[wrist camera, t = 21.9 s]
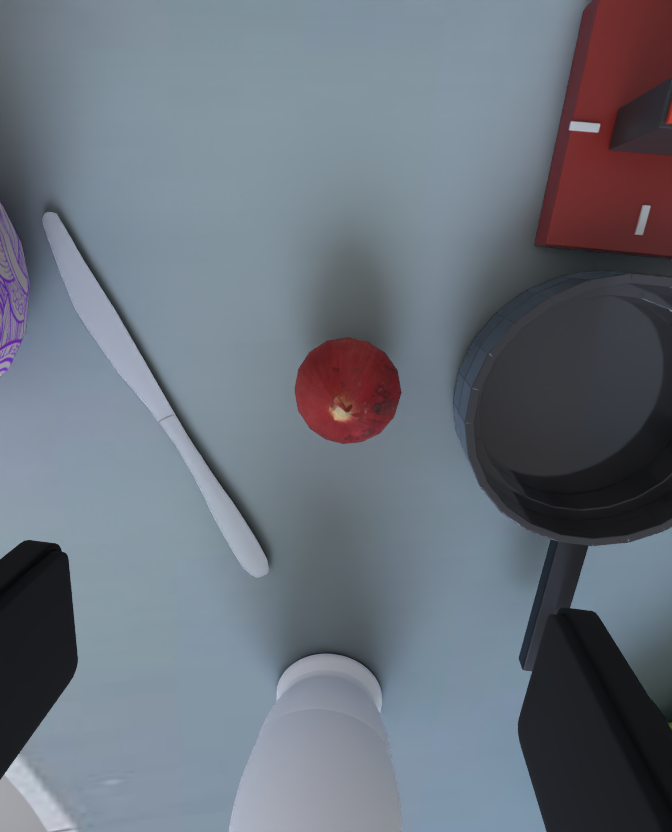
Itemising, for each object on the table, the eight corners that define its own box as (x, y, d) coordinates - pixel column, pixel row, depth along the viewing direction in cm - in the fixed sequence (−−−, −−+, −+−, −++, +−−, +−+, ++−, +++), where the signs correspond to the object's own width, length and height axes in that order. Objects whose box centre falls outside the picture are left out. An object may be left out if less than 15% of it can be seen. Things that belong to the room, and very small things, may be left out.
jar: (288, 621, 37) (235, 851, 23) (416, 666, 37) (442, 918, 23) (249, 718, 40) (181, 971, 26) (366, 758, 41) (362, 1028, 26)
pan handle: (553, 526, 29) (559, 536, 28) (583, 530, 29) (591, 539, 28) (518, 658, 32) (522, 670, 31) (545, 662, 32) (550, 674, 31)
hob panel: (580, 9, 24) (600, -13, 22) (773, 25, 24) (810, 3, 22) (531, 245, 28) (544, 244, 25) (698, 261, 27) (725, 262, 25)
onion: (407, 341, 30) (419, 370, 22) (384, 428, 32) (387, 482, 24) (314, 319, 30) (294, 341, 22) (296, 407, 32) (272, 455, 24)
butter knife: (238, 585, 35) (274, 574, 35) (22, 226, 29) (60, 202, 28) (241, 580, 36) (276, 569, 35) (29, 226, 29) (67, 203, 29)
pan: (477, 258, 28) (495, 259, 24) (745, 285, 27) (814, 290, 23) (435, 493, 33) (444, 528, 28) (664, 520, 32) (708, 560, 28)
